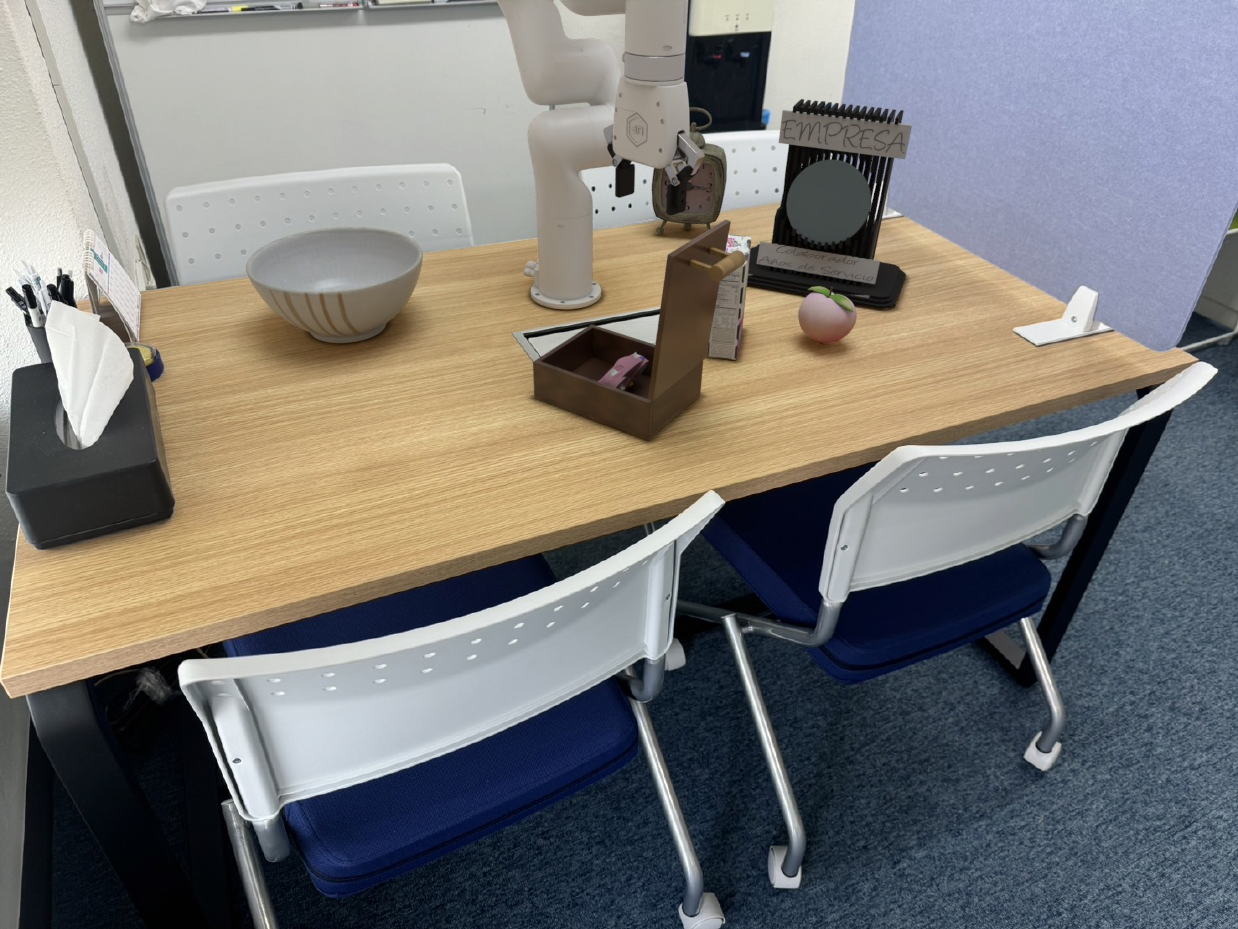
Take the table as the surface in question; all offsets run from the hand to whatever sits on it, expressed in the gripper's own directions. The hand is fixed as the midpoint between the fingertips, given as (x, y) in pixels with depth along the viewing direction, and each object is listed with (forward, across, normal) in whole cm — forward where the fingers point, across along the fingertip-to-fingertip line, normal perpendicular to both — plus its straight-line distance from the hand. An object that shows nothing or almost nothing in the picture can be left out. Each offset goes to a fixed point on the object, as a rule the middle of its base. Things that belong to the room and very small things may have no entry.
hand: (649, 203), depth 117 cm
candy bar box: (+26, +2, +17) cm, 31 cm away
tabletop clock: (+26, -36, +49) cm, 66 cm away
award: (+26, -4, +50) cm, 57 cm away
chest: (+26, +2, -8) cm, 28 cm away
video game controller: (+26, +2, -8) cm, 27 cm away
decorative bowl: (+26, -44, -25) cm, 57 cm away
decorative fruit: (+26, +13, +28) cm, 41 cm away
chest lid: (+10, +13, -6) cm, 17 cm away
